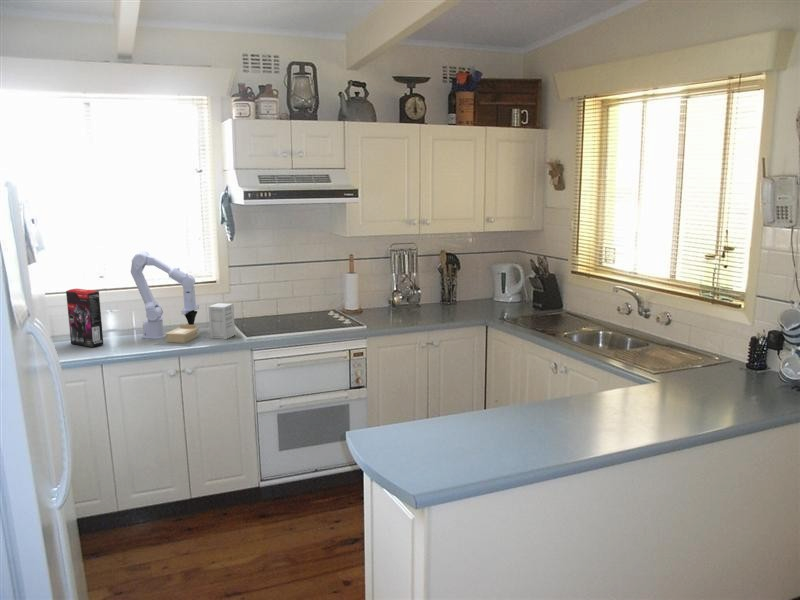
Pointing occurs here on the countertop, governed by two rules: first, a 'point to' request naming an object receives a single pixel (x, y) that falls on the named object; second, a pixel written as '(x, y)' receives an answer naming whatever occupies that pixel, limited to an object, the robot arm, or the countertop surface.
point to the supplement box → (221, 320)
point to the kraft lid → (183, 330)
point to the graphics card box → (84, 317)
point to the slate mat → (189, 343)
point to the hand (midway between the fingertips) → (191, 325)
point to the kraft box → (181, 338)
